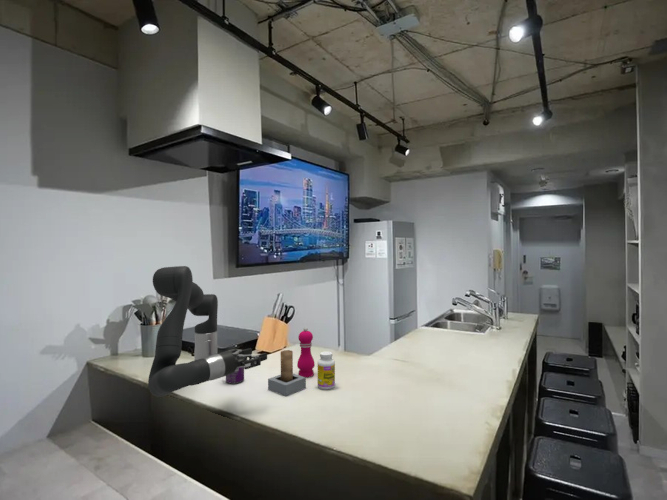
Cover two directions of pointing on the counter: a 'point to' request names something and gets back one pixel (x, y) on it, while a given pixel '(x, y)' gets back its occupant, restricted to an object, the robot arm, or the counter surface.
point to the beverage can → (236, 374)
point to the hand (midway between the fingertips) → (258, 353)
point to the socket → (286, 385)
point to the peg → (286, 365)
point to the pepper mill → (305, 354)
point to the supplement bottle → (326, 371)
